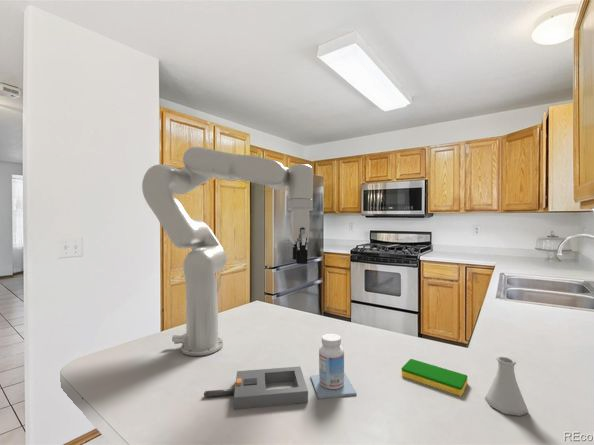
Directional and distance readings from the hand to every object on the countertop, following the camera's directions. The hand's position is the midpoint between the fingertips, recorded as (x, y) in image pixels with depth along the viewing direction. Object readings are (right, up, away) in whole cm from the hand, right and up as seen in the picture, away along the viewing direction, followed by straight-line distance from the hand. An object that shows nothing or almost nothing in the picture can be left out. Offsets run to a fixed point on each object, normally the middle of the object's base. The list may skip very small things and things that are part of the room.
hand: (299, 261), depth 89 cm
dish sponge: (+34, -28, -16) cm, 47 cm away
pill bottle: (+8, -27, -19) cm, 34 cm away
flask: (+44, -28, -26) cm, 59 cm away
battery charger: (-11, -28, -21) cm, 37 cm away
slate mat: (+8, -28, -19) cm, 34 cm away
